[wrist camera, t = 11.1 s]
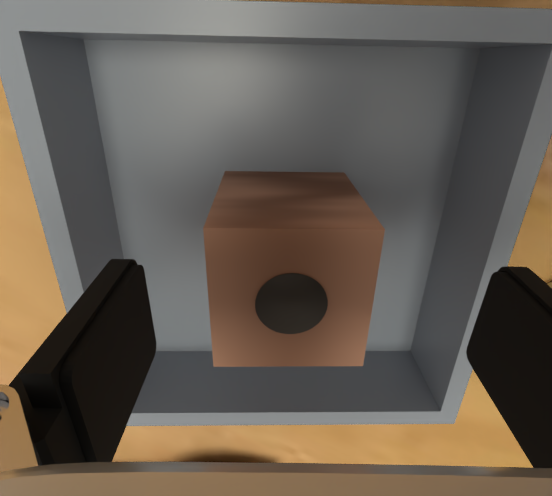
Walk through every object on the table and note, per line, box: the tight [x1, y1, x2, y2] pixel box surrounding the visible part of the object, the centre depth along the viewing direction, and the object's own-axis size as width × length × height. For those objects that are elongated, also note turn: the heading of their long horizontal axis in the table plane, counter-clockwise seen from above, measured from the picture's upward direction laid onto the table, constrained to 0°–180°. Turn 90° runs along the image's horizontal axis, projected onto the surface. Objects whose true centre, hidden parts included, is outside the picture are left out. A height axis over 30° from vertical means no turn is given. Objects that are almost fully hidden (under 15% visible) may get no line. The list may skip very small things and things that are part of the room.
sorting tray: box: [0, 0, 552, 426], centre depth 15 cm, size 16×16×4 cm
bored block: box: [203, 171, 385, 367], centre depth 14 cm, size 5×5×6 cm
